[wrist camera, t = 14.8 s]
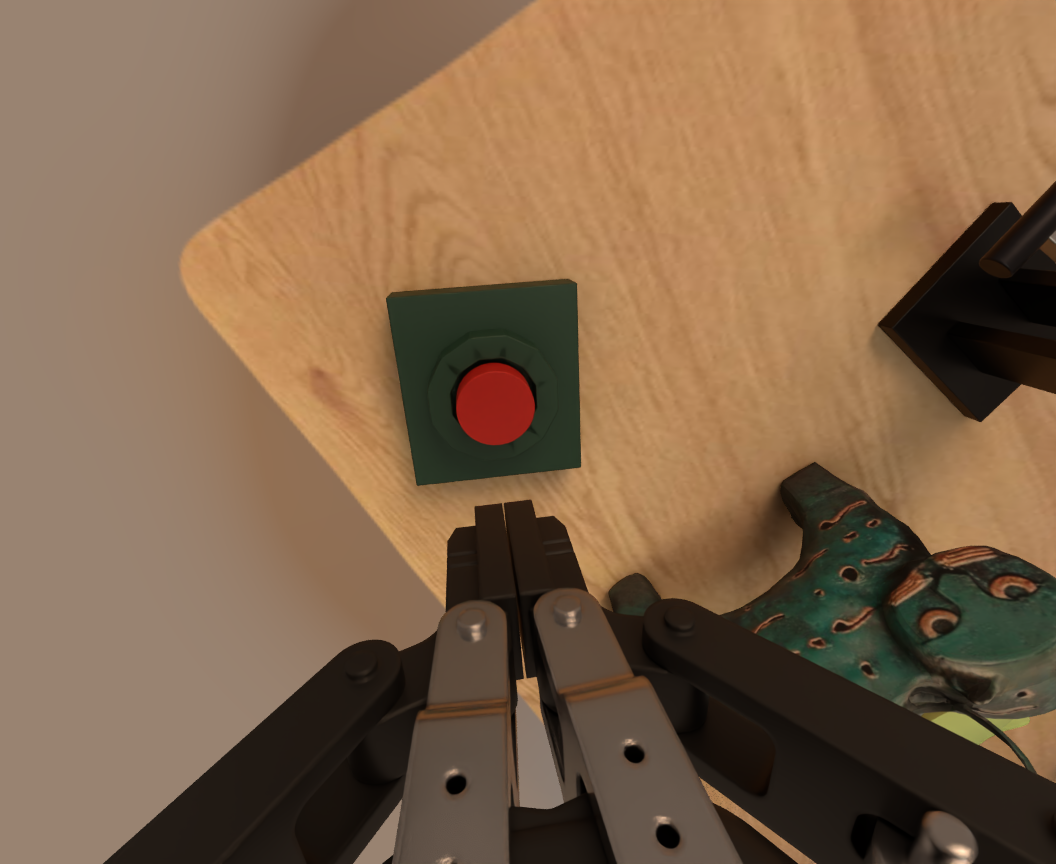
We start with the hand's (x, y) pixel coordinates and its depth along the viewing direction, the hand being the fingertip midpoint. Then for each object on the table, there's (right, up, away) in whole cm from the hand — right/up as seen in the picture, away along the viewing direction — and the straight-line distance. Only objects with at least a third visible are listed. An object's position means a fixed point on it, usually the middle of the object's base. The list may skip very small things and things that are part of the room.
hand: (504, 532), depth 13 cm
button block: (-2, +6, +17) cm, 18 cm away
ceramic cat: (+15, -5, +24) cm, 29 cm away
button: (-1, +4, +14) cm, 15 cm away
